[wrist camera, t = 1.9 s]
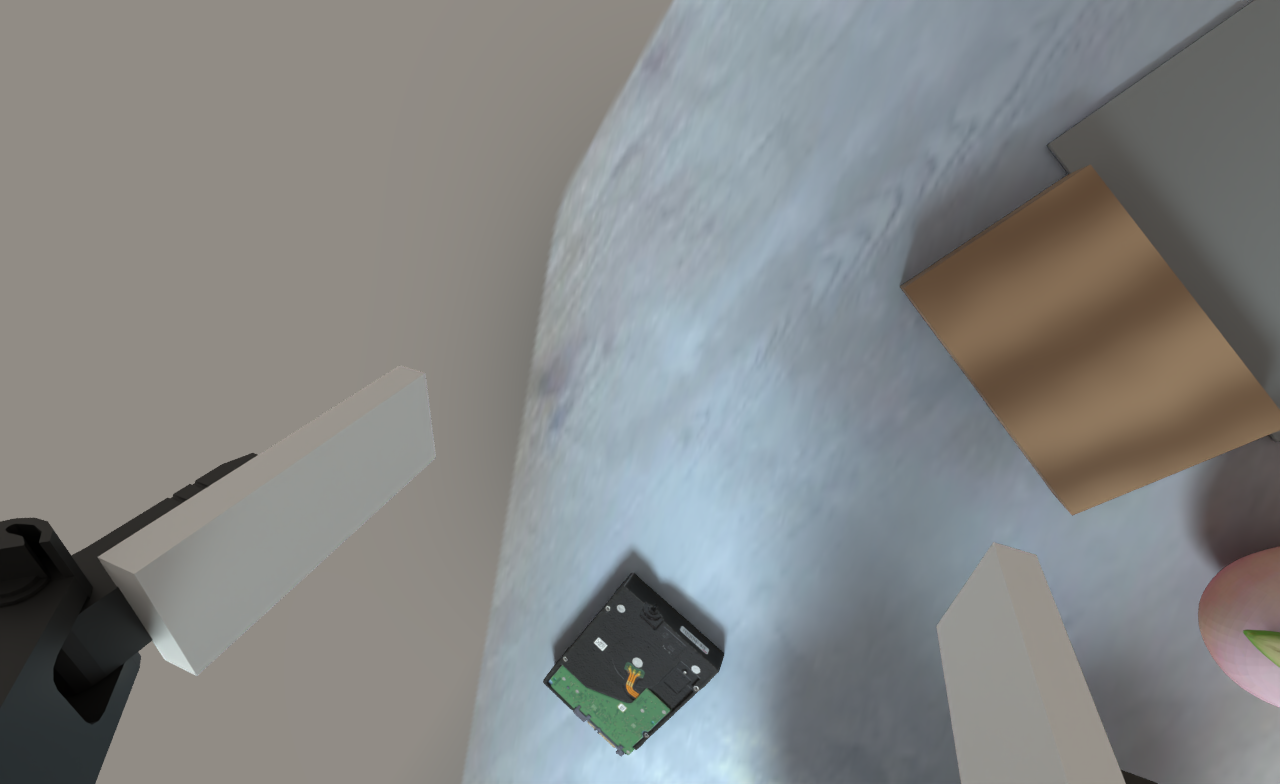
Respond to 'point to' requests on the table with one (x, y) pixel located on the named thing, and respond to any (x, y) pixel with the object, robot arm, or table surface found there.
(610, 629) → the disk drive
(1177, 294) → the walnut ledge
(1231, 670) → the decorative fruit
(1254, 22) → the rubber mat
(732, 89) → the table surface
